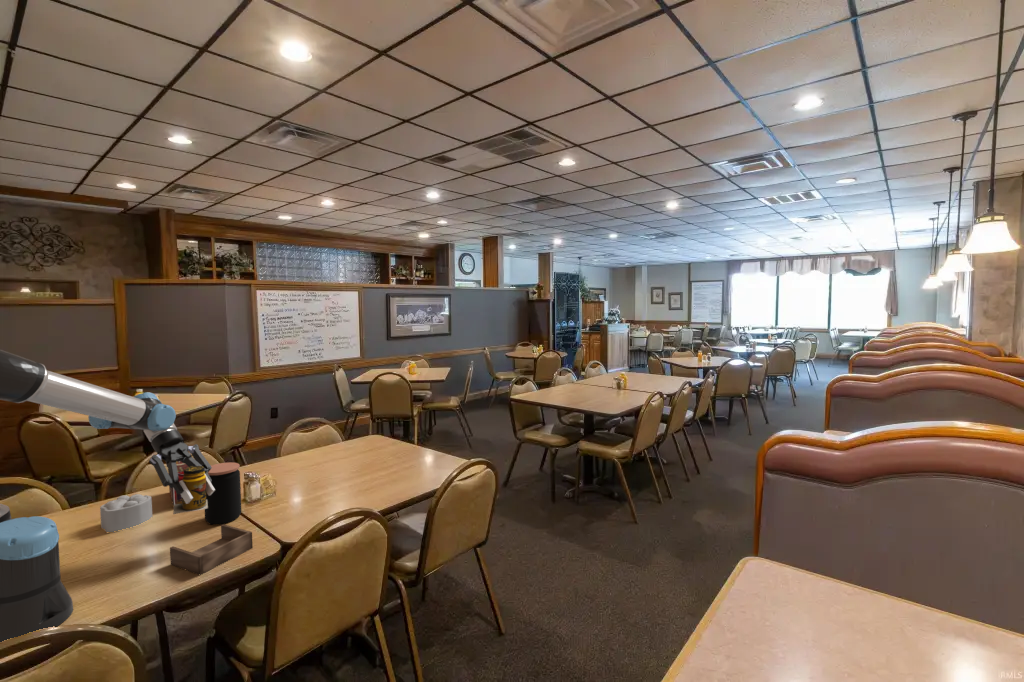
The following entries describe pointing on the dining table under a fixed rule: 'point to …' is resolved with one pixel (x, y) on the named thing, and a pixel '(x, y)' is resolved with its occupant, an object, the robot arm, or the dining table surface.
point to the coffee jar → (224, 494)
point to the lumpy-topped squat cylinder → (125, 512)
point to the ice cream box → (180, 469)
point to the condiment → (194, 490)
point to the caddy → (213, 551)
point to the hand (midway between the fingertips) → (201, 496)
